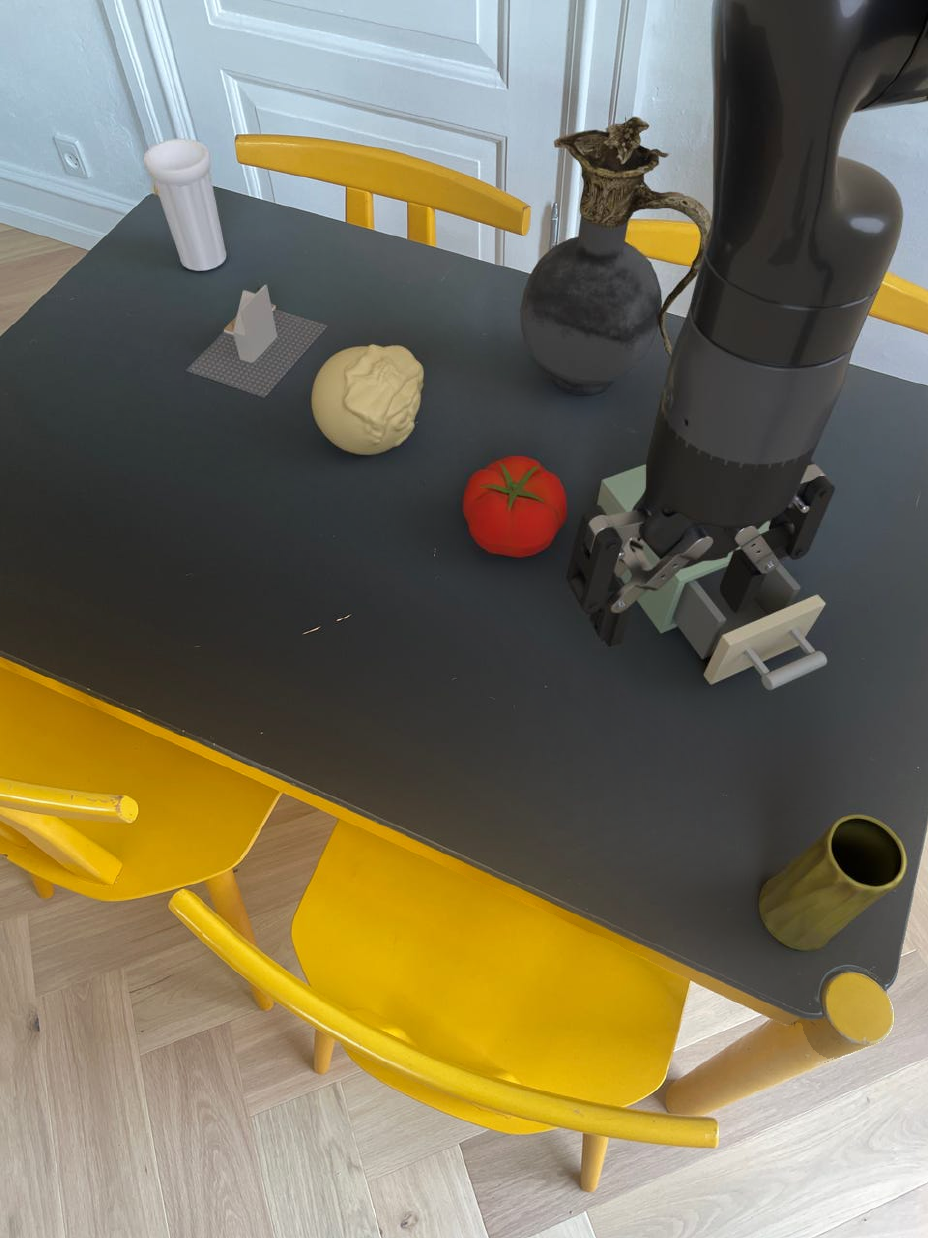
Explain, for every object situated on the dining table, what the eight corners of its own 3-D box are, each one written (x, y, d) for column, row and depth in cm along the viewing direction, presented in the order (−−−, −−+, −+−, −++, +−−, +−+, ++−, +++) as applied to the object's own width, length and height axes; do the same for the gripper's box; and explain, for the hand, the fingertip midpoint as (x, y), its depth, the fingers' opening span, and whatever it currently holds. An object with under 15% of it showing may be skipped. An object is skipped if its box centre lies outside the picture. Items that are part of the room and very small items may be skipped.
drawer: (829, 679, 80) (857, 639, 74) (737, 721, 77) (759, 684, 72) (724, 552, 88) (742, 508, 83) (638, 586, 86) (651, 543, 80)
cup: (193, 284, 114) (163, 179, 103) (163, 257, 118) (130, 151, 106) (245, 262, 117) (221, 156, 106) (214, 235, 121) (188, 131, 109)
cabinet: (757, 593, 86) (784, 538, 79) (660, 633, 84) (679, 581, 76) (682, 501, 93) (701, 443, 86) (590, 536, 90) (601, 479, 83)
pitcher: (537, 333, 109) (562, 77, 85) (681, 375, 105) (752, 120, 80) (503, 384, 104) (519, 127, 79) (654, 432, 99) (721, 176, 75)
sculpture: (390, 483, 95) (384, 408, 86) (299, 447, 98) (283, 371, 89) (439, 419, 100) (438, 342, 91) (351, 387, 103) (342, 310, 94)
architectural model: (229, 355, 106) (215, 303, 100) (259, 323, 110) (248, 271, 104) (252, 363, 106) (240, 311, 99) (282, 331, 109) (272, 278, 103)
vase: (755, 940, 67) (819, 884, 56) (759, 865, 71) (820, 798, 59) (835, 960, 67) (917, 907, 55) (835, 883, 70) (912, 818, 58)
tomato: (511, 478, 95) (515, 427, 89) (583, 534, 91) (593, 485, 84) (439, 527, 91) (438, 477, 85) (511, 589, 86) (515, 541, 80)
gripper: (640, 490, 36) (589, 697, 49) (921, 424, 39) (804, 635, 52) (571, 385, 41) (540, 600, 53) (828, 332, 44) (741, 548, 56)
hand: (671, 617), depth 53 cm, fingers open, 8 cm apart
